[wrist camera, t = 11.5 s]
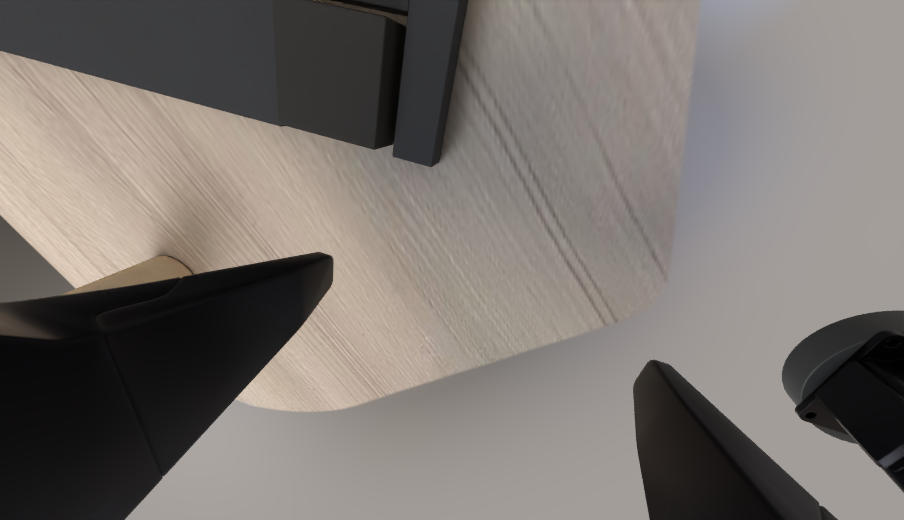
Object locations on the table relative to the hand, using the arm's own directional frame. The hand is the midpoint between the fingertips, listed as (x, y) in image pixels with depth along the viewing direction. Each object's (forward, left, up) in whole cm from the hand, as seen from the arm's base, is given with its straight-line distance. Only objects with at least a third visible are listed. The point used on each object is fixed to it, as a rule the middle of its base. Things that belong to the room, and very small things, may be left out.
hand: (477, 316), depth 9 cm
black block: (+11, -4, -12) cm, 17 cm away
